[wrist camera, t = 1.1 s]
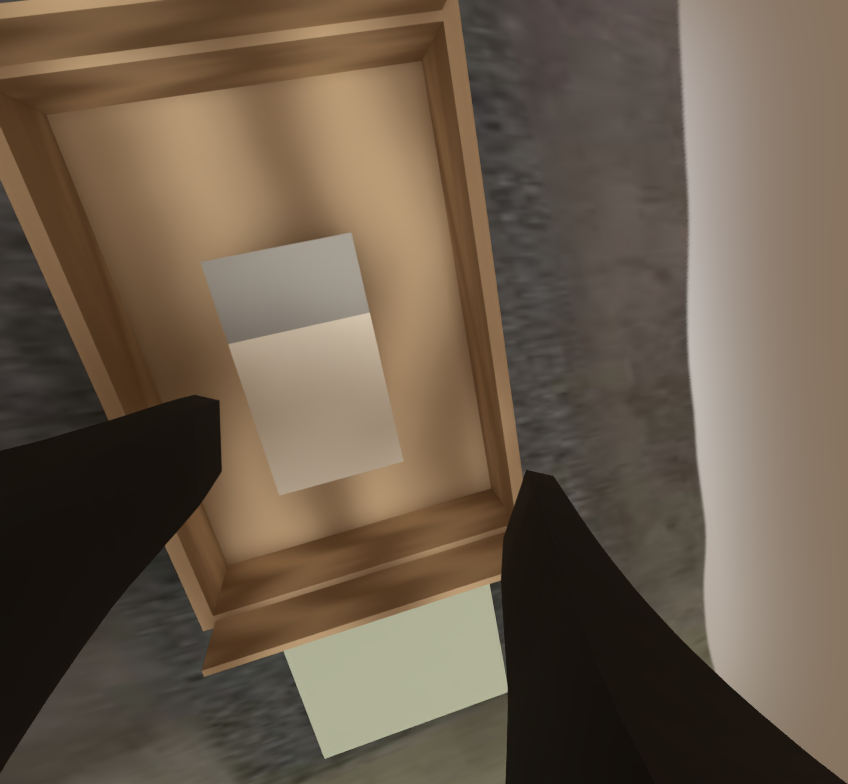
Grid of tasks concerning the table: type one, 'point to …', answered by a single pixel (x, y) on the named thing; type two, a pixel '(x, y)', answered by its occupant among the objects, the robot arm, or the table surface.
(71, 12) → the wooden crate
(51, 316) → the table surface
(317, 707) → the panel
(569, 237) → the table surface
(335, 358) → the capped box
